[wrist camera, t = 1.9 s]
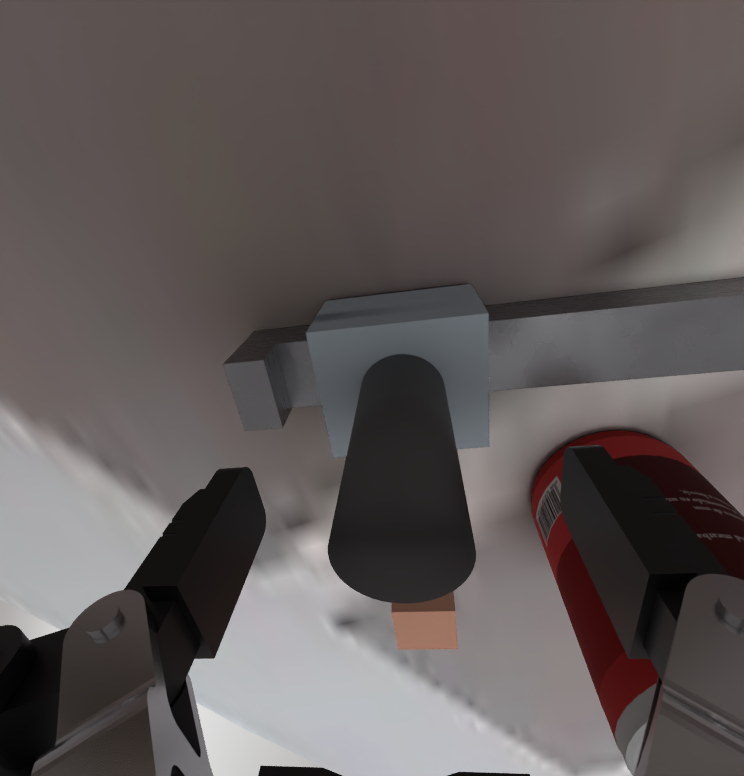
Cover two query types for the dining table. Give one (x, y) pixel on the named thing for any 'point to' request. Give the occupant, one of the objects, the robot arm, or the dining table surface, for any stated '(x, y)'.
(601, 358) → the rail
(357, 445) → the grey block with post
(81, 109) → the dining table surface
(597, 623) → the canned food
